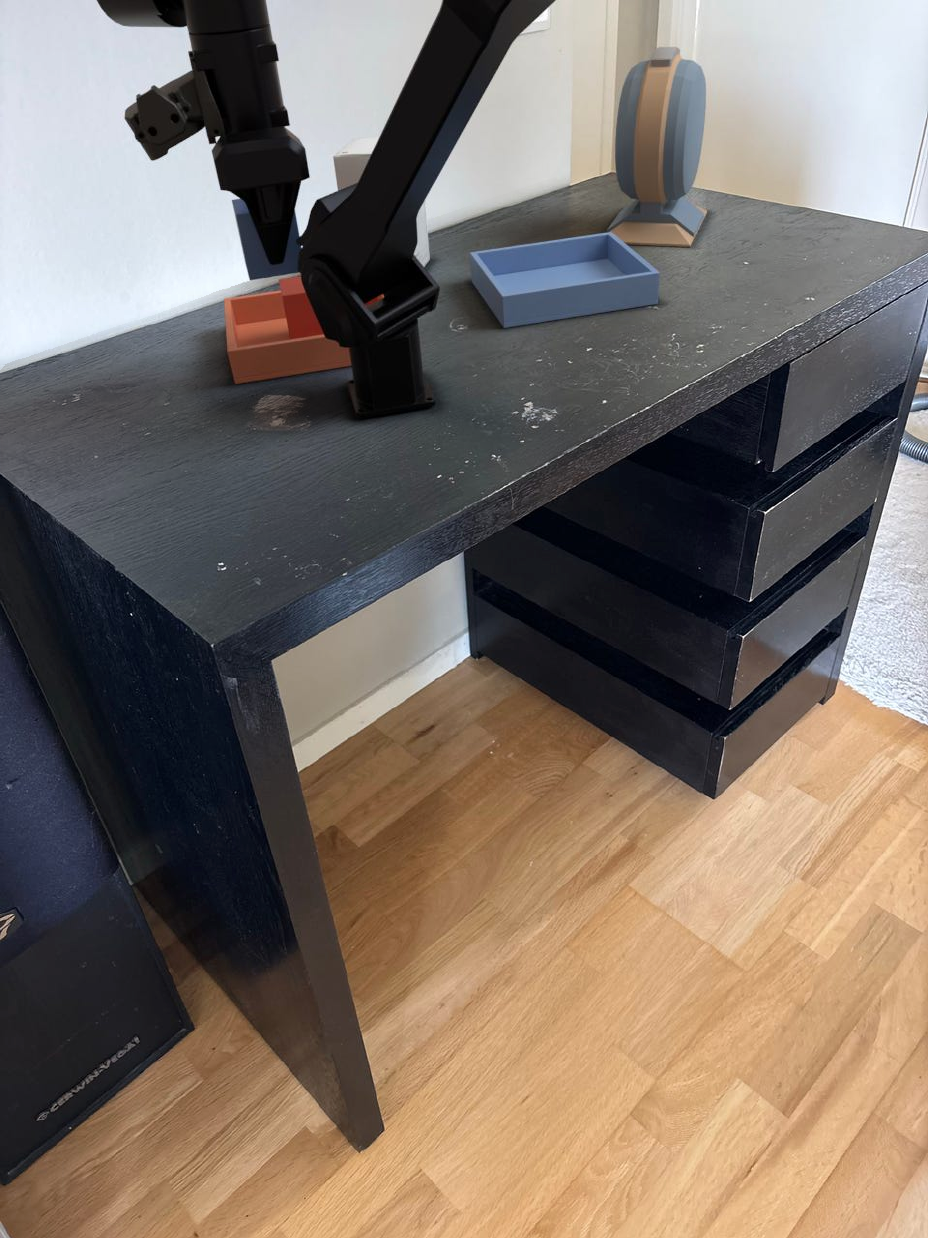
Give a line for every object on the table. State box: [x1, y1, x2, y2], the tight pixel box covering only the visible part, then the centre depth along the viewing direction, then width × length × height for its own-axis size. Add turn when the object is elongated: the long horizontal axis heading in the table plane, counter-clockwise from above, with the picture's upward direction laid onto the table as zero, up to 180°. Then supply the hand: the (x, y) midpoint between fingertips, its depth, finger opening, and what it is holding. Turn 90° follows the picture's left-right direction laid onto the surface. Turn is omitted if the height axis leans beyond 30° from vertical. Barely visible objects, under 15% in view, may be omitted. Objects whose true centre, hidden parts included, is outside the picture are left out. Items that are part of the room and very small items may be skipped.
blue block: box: [231, 198, 303, 281], centre depth 74 cm, size 4×4×5 cm
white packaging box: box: [332, 137, 431, 268], centre depth 96 cm, size 7×7×13 cm
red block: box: [278, 275, 323, 340], centre depth 85 cm, size 4×4×5 cm
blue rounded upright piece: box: [605, 46, 708, 248], centre depth 100 cm, size 14×10×18 cm
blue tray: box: [469, 232, 661, 329], centre depth 91 cm, size 13×15×3 cm
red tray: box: [223, 290, 384, 385], centre depth 86 cm, size 13×15×3 cm
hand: (273, 254), depth 75 cm, fingers closed on blue block, 4 cm apart
